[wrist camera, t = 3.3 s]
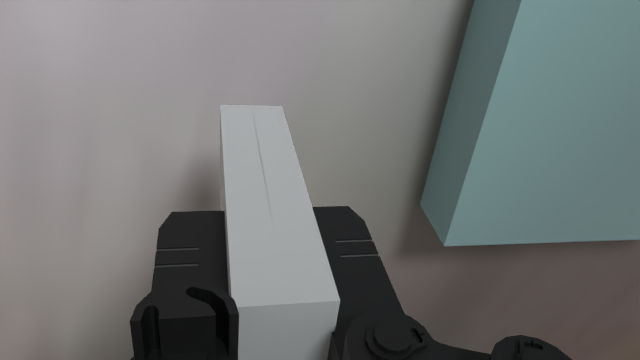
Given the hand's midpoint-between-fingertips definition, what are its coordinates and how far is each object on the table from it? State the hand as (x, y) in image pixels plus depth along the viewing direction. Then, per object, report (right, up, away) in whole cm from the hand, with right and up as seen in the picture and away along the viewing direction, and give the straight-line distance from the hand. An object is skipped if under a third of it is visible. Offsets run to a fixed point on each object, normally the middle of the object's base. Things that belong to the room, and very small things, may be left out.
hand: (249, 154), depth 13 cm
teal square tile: (+12, +3, +6) cm, 14 cm away
